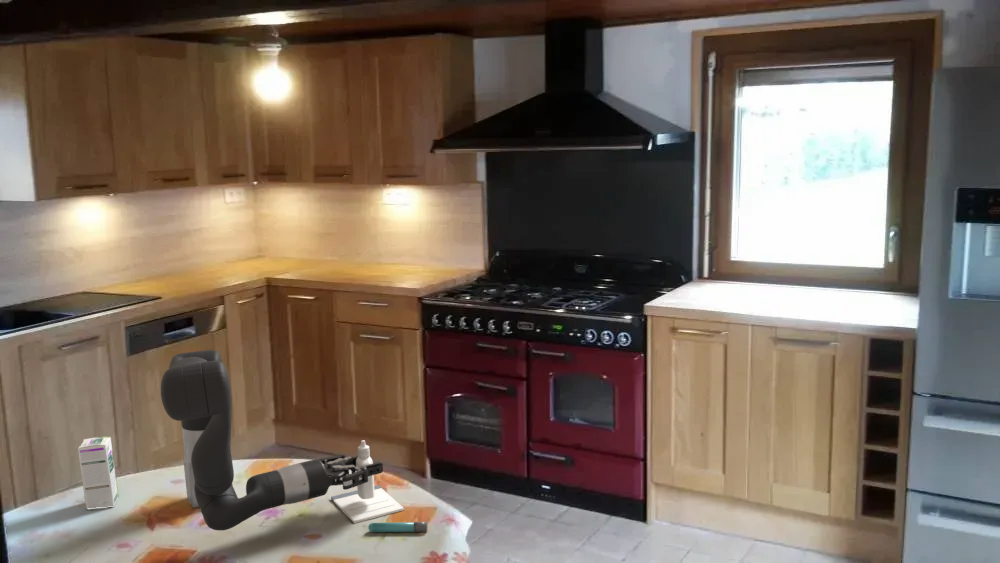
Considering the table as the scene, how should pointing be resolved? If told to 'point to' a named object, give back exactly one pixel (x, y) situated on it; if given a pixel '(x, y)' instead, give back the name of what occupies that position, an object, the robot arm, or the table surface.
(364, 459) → the white tapered bottle shape
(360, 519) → the notepad
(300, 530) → the table surface
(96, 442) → the syrup box
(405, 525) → the marker
